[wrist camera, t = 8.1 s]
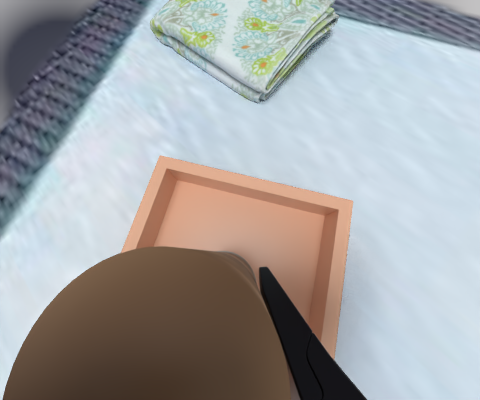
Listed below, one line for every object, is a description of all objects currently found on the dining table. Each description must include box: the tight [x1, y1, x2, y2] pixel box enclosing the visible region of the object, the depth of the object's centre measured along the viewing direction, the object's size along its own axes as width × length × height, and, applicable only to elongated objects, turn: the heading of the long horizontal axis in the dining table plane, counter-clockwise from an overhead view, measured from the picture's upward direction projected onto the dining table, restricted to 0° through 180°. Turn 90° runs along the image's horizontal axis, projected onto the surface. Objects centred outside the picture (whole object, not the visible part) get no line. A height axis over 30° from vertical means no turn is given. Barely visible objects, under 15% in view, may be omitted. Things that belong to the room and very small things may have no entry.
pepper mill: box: [3, 246, 291, 400], centre depth 9 cm, size 5×5×12 cm
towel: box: [150, 0, 339, 103], centre depth 28 cm, size 18×21×5 cm
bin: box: [121, 156, 353, 359], centre depth 19 cm, size 20×20×4 cm
